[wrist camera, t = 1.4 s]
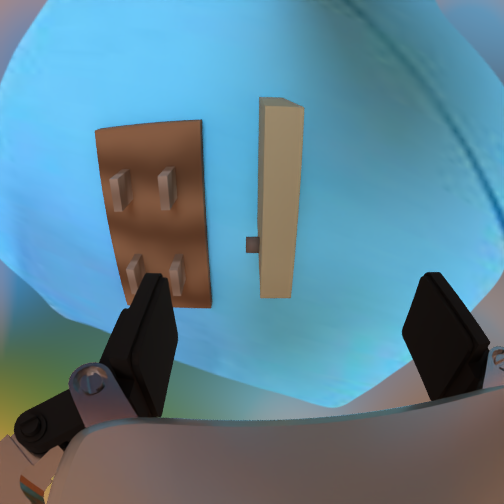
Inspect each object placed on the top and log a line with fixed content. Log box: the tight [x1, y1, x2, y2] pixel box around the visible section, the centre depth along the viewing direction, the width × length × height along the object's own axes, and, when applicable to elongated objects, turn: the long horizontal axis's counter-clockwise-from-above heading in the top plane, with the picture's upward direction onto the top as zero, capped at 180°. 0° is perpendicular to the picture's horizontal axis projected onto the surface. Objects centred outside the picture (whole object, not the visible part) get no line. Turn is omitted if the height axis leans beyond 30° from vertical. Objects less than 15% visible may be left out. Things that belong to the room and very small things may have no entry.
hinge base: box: [95, 120, 212, 308], centre depth 29 cm, size 20×10×4 cm, turn 0°
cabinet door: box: [246, 97, 304, 298], centre depth 23 cm, size 12×3×12 cm, turn 179°
